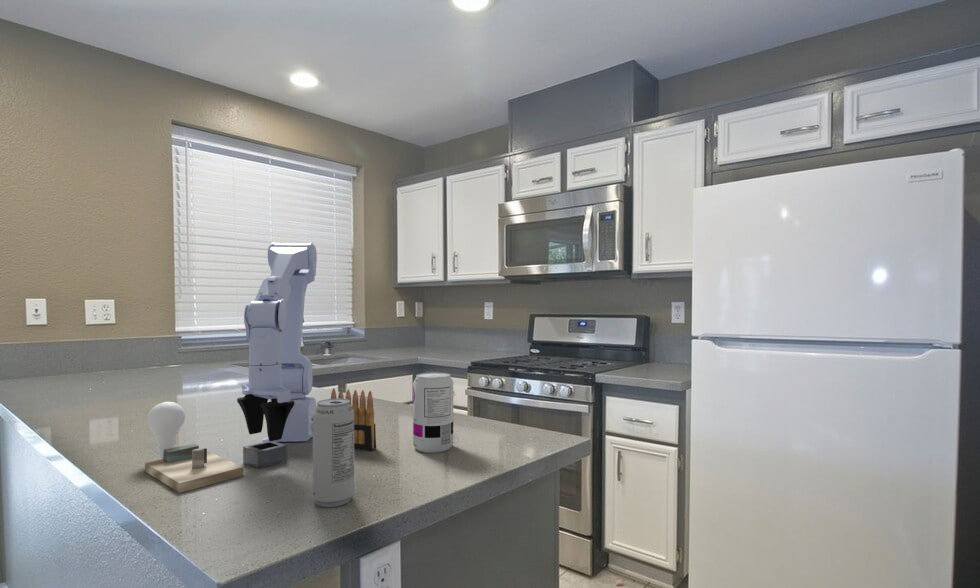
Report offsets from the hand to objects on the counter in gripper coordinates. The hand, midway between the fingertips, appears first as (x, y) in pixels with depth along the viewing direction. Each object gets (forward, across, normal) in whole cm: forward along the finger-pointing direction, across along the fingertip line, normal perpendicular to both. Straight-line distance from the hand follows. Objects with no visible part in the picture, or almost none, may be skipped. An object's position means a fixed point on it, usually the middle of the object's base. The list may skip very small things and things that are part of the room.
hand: (265, 436), depth 95 cm
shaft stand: (+5, -4, -11) cm, 13 cm away
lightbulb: (+5, -16, -11) cm, 20 cm away
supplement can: (+5, +18, +26) cm, 32 cm away
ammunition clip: (+5, +5, +16) cm, 17 cm away
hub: (+5, 0, 0) cm, 5 cm away
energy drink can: (+5, +26, -2) cm, 27 cm away
